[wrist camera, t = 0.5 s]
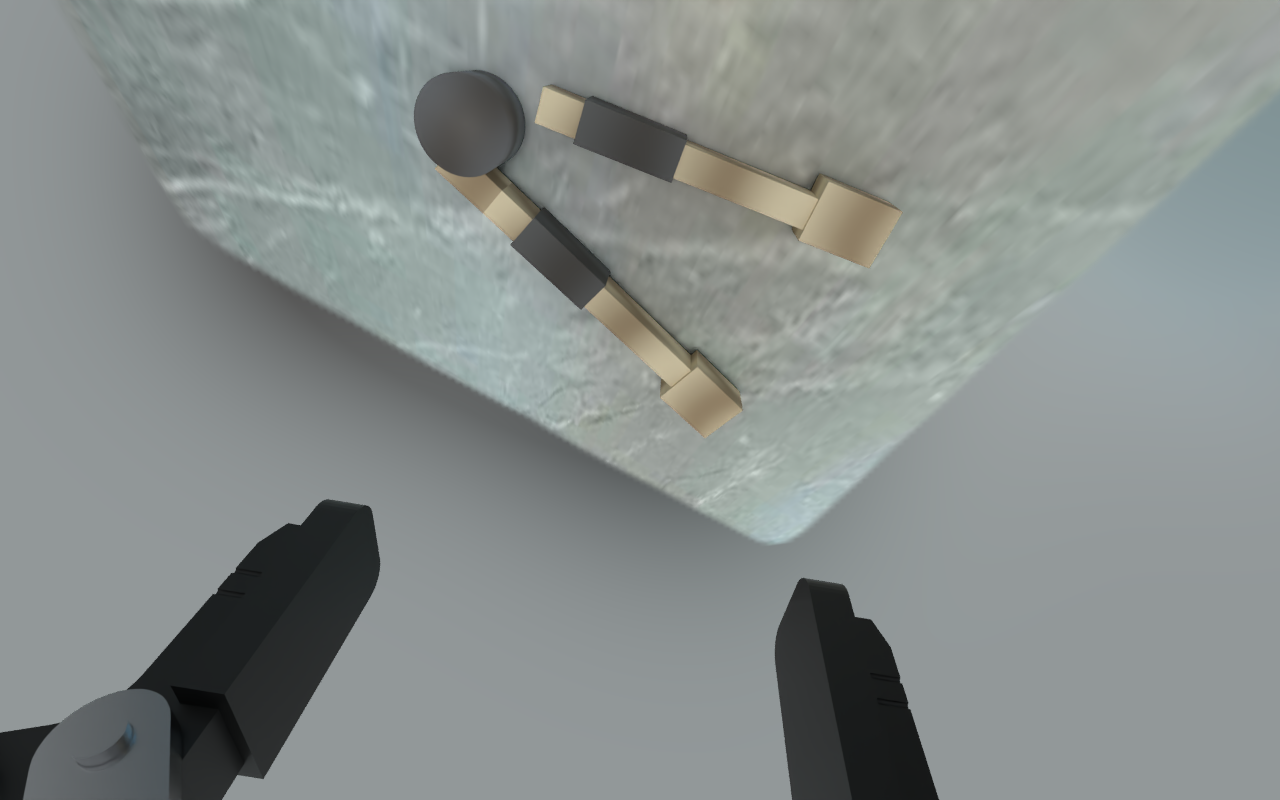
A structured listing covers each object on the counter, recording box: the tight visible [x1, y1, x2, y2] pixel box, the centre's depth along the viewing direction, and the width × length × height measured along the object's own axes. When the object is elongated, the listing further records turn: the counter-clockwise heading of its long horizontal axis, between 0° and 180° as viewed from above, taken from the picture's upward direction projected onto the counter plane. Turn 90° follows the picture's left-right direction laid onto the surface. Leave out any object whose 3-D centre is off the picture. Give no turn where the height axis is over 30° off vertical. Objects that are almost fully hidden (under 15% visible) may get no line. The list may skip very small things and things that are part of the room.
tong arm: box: [535, 85, 903, 268], centre depth 28 cm, size 18×3×2 cm, turn 70°
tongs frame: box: [414, 70, 743, 438], centre depth 31 cm, size 23×6×3 cm, turn 45°
